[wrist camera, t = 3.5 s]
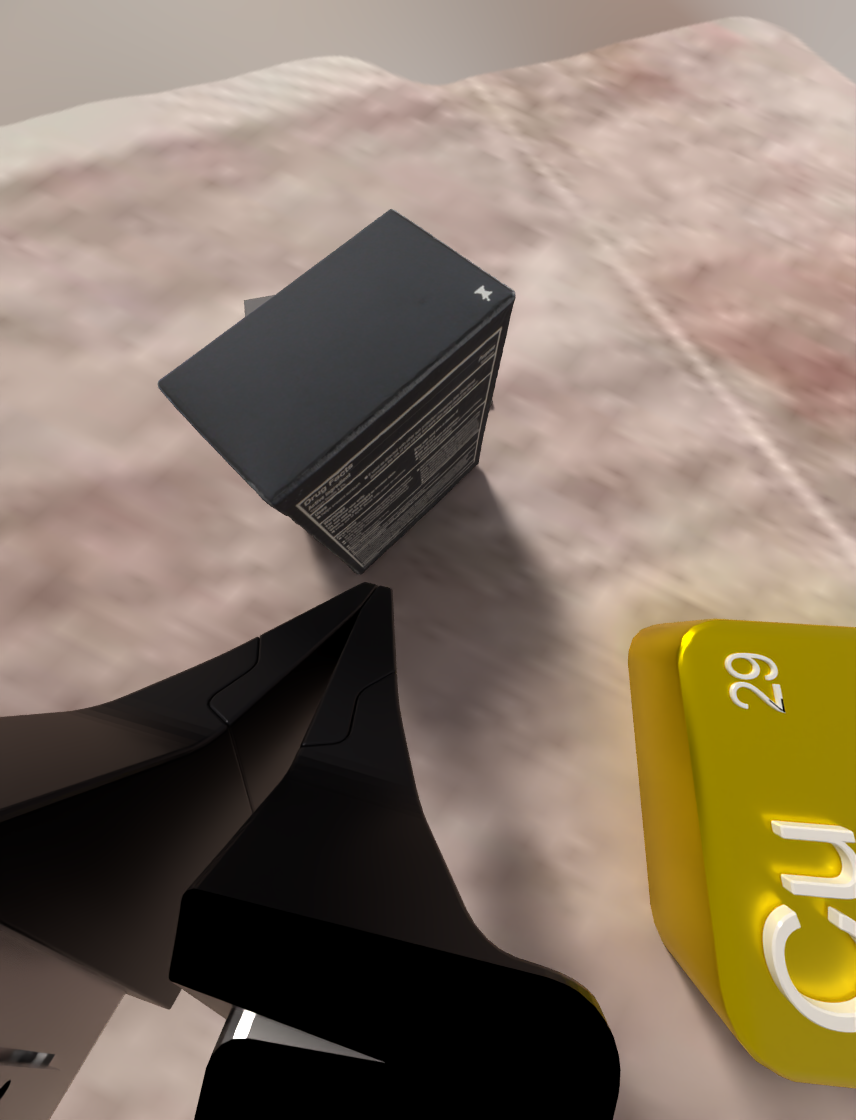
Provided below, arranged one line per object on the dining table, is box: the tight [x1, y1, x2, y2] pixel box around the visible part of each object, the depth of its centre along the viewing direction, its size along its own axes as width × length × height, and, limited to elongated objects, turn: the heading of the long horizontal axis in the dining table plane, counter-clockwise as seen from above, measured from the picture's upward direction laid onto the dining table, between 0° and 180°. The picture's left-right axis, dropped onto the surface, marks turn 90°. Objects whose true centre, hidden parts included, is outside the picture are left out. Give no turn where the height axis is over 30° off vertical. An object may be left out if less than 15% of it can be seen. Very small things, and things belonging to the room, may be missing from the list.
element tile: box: [628, 619, 856, 1088], centre depth 14 cm, size 15×15×5 cm
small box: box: [158, 209, 515, 574], centre depth 15 cm, size 11×6×10 cm, turn 135°
